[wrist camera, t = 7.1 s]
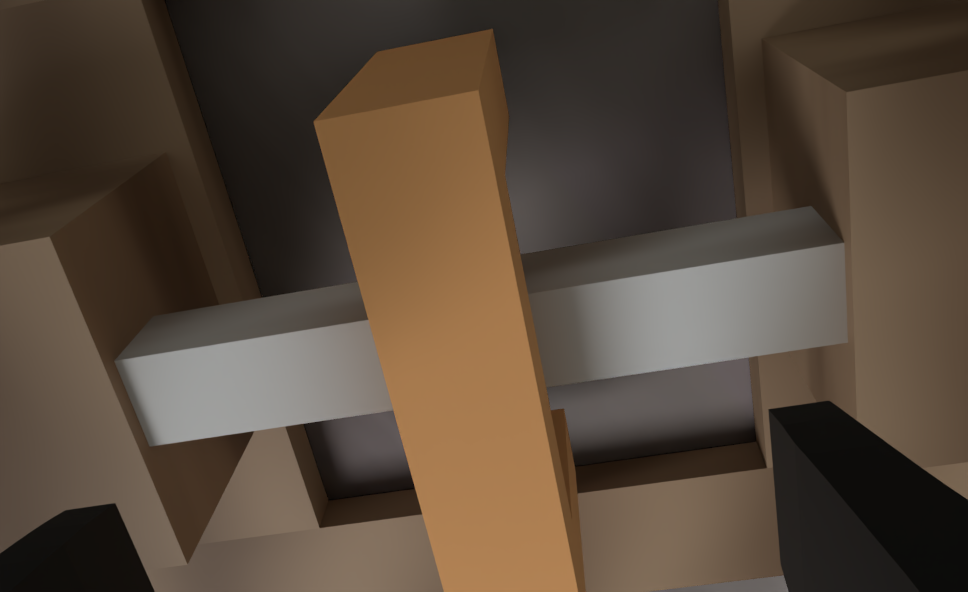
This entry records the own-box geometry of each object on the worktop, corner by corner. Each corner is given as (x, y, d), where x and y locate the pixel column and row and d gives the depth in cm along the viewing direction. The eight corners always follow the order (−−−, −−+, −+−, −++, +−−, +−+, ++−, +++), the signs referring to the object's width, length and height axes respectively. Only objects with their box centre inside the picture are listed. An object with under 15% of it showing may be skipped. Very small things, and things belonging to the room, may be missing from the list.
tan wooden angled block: (575, 469, 19) (591, 658, 14) (481, 482, 19) (466, 672, 14) (492, 28, 15) (478, 89, 10) (376, 51, 15) (312, 121, 11)
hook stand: (1092, -451, 13) (1431, -652, 8) (1031, 513, 21) (1193, 715, 16) (-217, -132, 16) (-556, -141, 11) (136, 624, 23) (29, 827, 18)
